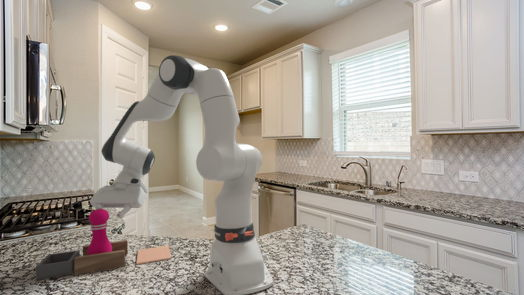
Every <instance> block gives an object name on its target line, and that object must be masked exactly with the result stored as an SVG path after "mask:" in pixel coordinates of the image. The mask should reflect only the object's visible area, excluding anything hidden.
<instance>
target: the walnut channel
mask: <svg viewBox="0 0 524 295" xmlns="http://www.w3.org/2000/svg"><path fill="white" fill-rule="evenodd" d="M110 243H111V245H112V251H111V252H105V253H99V254H92V255H88V254H87V253H88V247H89V245H90V244H88V245H86V244H85V245H82V255H80V256H78V257H75V258H74V267H75V270H74V275H81V274H82V275H83V274H86V273H92V272H99V271H106V270H111V269H116V268H123V267H124V268H125V267H126V256H127V254H129V251H128V250H129V249H128V248H129V247H128V246H129V245H128V239H124V240H123V239H122V240H116V241H110Z"/></svg>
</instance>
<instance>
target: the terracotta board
mask: <svg viewBox="0 0 524 295" xmlns="http://www.w3.org/2000/svg"><path fill="white" fill-rule="evenodd" d="M136 256H137V257H136V264H135V265H136V266H138V265H143V263H145V264H149V262H151V263H155V261H157V262H162V261H168V260H172V255H171V251H170V245H163V246H156V247H155V246H154V247H150V248H149V247H148V248H143V249H138V250H137V255H136ZM167 259H168V260H167Z"/></svg>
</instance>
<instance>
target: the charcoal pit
mask: <svg viewBox="0 0 524 295" xmlns="http://www.w3.org/2000/svg"><path fill="white" fill-rule="evenodd" d="M78 256H81V251H80V249H79V250H78V249H77V250H71V251H65V252H64V251H63V252H57V253H56V252H55V253H51V254H50V253H49V254H47V255H46V256H45V257H44V258H43V259H42V260H41V261H40V262H39V263H38V264H36V266H35V280H36V281H38V280H44V279H51V278H57V277H62V276H69V275H73V273H74V272H75V267H74V258H75V257H78Z"/></svg>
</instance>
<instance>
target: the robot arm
mask: <svg viewBox="0 0 524 295" xmlns="http://www.w3.org/2000/svg"><path fill="white" fill-rule="evenodd" d="M184 94H187V95H193V96H198V100H199V106H200V110H201V114H202V119H203V124H204V142H203V145H202V147H201V148H200V150H199V152H197V155H196V160H195V165H196V169H197V172H198V174H199V175H200V176H201V177H202V178H203V179H204V180H206V181H207V180H208V181H214V182H223V184H222V188H221V189H220V191H219V193H218V194H217V196H216V198H215V201H214V205H215V206H214V207H215V208H214V210H215V211H214V212H215V224H214V229H213V232H214V238H215V239H214V241H213V242H212V243H211V245H210V247H209V269H206V271H204V274H203V275H204V277H205V278H206V279H207V280H208V281H209V282H210V283H211V284H212V285H213V286H214V287H215V288H216V289H217V290H218V291H220V292H221V293H222V294H223V295H249V294H250V295H251V294H254V293H257V292H261V291H264V290H266V289H269V288H271V287H272V286H273V285H274V280H273V277H272V275H271V273H270V271H269V270H268V267H267V266H266V263H265V262H267V261H268V256H267V253H266V252H263V253H262V252H261V251H262V245H261V244H260V245H259V244H258V241H257V238H256V237H255V236H256V234H255V227H254V223H253V219H252V218H253V217H252V215H253V214H252V213H253V212H252V200H253V199H252V197H253V190H254V185H255V181H256V178H257V174H258V172H259V170H260V169H261V167H262V165H263V156H262V153H261V152H260V150H259V148H256V146H253V145H250V144H247V143H238V142H237V141H236V131H237V128H238V127H239V125H240V124H241V122H240V121H241V120H240V116H239V112H238V107H237V103H236V100H235V96H234V92H233V90H232V86H231V82H229V79H228V77H227V75H226V73H225V72H224V71H223V70H222V69H219V68H215V67H209V66H206V65H204V64H202V63H201V62H198V61H196V60H193V59H190V58H188V57H187V58H186V57H183V56H181V55H172V54H171V55H167V56H165V57H164V58H163V59H162V61H161V63H160V65H159V68H158V73H157V75H156V76H155V78H154V79H153V81H152V83H151V85H150V87H149V88H148V91H147V93H146V96H145V97H144V98H143V99H142V100H140V101H139V100H138V101H135V102H133V103H132V104H131V105H130V106H129V108H127V110H126V112H124V113H125V114H124V115H123V116H122V118H121V119H120V121H119V123H118V124H117V126H116V127H115V129H114V130H113V132H112V133H111V134H110V136H109V137H108V139H107V140H105V142H104V144H103V145H102V148H101V155H102V156H103V159H105V161H107V162H111V163H114V164H118V165H120V166H123V167H122V170H121V171H120V172H119V173H118V174H117V176H116V178H115V179H114V181H113V183H112V185H111V184H110V185H104V186H102V187H100V188H99V189H98V190H96V191H95V193H94V194H93V195H92V197H91V199H90V200H89V203H90V205H91V206H92V207H94V208H95V210H97V209H96V206H97V205H101V206H102V208H101V209H104V208H105V209H110V208H111V209H121V210H120V211H118V213H117V214H116V217H117V218H119V219H120V218H121V219H123V218H124V217H125V215H126V214H127V213H128V212H130V210H131V209H139V208H141V207H142V206H143V205H144V204H145V201H146V199H147V194H148V193H149V191H150V190H149V188H148V187H147V185H146V184H145V183H144V181H143V178H144V177H145V175H147V174H149V172H150V170H151V168H152V167H153V165H154V163H155V161H156V157H155V153H154V151H153V150H152V149H151V148H148V147H145V146H144V145H141V144H138V143H136V142H134V141H130V140H129V139H127V138H126V135H127V134H128V132H129V131H130V129H131V127H132V126H133V125H134V123H135V122H141V121H142V122H155V123H156V122H164V121H167V120H169V119H171V118H172V117H173V115H174V114H175V111H176V110H177V108H178V105H179V103H180V101H181V99H182V97H183V95H184Z"/></svg>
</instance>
